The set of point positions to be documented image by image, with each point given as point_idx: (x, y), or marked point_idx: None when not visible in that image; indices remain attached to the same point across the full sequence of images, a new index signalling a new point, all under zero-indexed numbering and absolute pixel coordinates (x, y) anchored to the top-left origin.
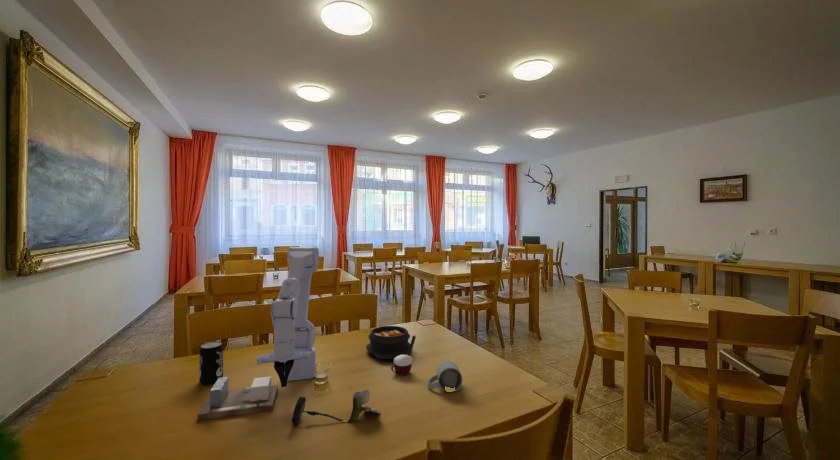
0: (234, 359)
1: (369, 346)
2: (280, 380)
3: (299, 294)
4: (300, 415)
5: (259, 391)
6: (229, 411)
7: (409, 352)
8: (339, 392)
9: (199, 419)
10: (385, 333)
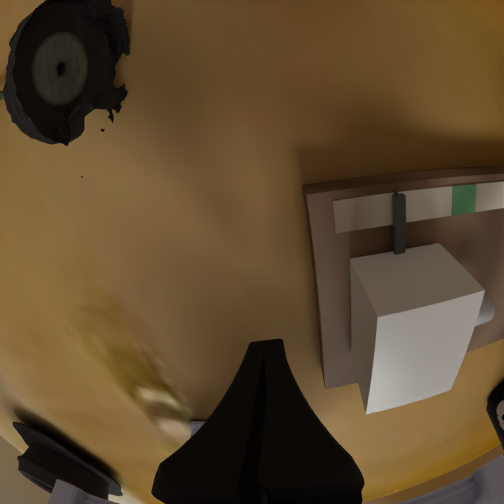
0: (444, 459)
1: (109, 482)
2: (288, 372)
3: None
4: (76, 53)
5: (420, 281)
6: (502, 172)
7: None
8: (49, 317)
9: None
10: None
